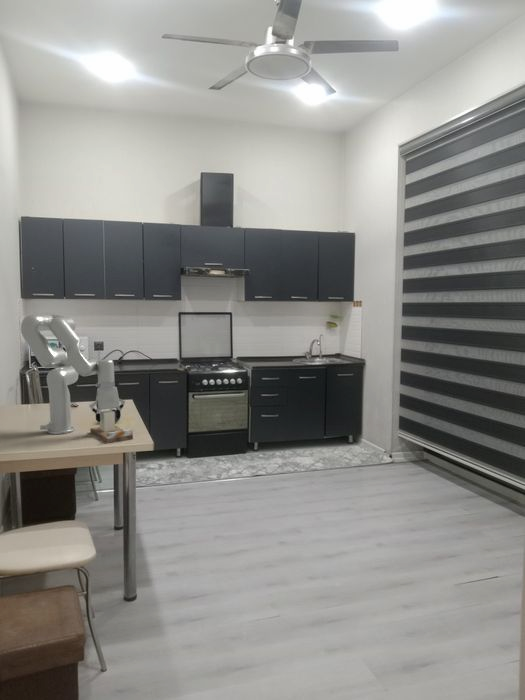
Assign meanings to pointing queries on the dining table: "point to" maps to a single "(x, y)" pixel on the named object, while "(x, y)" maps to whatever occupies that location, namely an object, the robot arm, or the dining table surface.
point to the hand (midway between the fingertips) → (108, 419)
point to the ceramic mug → (115, 414)
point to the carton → (107, 420)
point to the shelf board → (113, 434)
